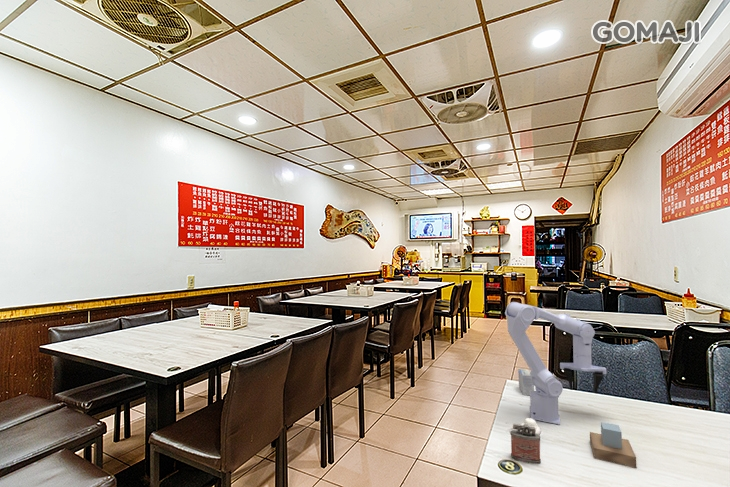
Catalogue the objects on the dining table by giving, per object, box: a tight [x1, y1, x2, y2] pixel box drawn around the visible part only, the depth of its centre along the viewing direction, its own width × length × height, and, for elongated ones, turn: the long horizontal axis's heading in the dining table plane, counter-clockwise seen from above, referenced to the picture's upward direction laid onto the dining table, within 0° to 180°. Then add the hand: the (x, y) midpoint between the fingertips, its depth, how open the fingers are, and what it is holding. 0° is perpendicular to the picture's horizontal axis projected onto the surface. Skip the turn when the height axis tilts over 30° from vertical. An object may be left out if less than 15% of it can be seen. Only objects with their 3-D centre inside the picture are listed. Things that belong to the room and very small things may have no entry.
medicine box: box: [518, 368, 535, 396], centre depth 147 cm, size 8×4×9 cm, turn 168°
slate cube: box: [600, 421, 623, 449], centre depth 102 cm, size 4×4×5 cm
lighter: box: [509, 423, 542, 465], centre depth 100 cm, size 8×3×10 cm, turn 71°
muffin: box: [520, 417, 542, 436], centre depth 110 cm, size 6×6×7 cm
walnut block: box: [589, 431, 637, 469], centre depth 102 cm, size 10×10×3 cm
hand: (583, 390), depth 126 cm, fingers open, 7 cm apart
